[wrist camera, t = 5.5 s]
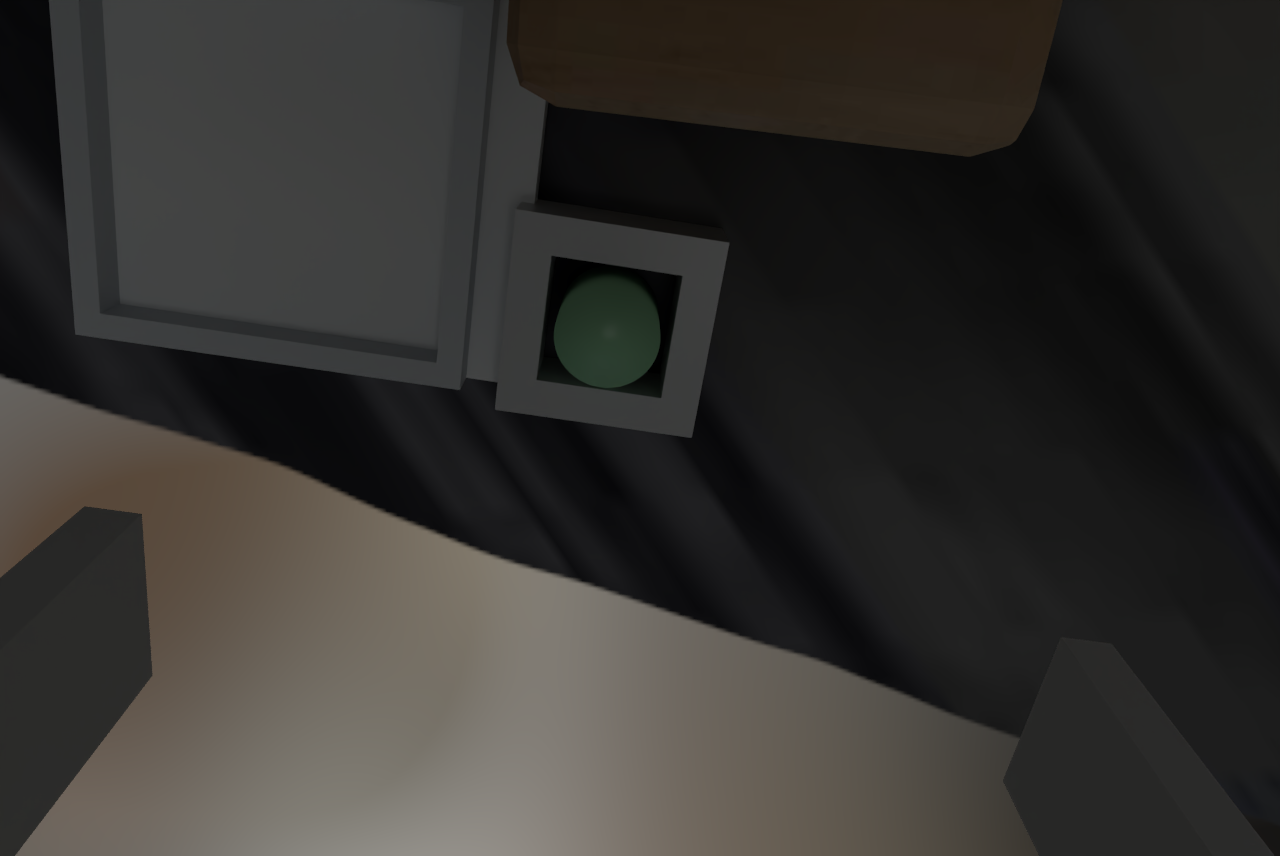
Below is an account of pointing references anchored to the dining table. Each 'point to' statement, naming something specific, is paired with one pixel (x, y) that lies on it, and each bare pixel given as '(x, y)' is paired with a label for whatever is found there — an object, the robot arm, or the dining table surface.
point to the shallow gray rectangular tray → (296, 179)
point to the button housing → (618, 242)
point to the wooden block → (796, 65)
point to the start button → (608, 327)
